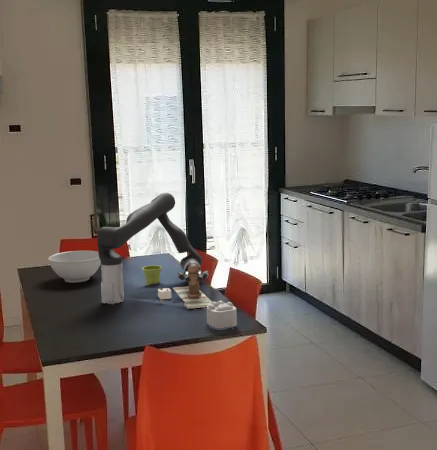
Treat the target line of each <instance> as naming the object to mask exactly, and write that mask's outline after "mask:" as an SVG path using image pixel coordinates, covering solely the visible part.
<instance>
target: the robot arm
mask: <svg viewBox="0 0 437 450" xmlns="http://www.w3.org/2000/svg"><path fill="white" fill-rule="evenodd" d="M175 205H176V200H175V197H174V195H173V194H171V193H170V192H163V193H160V194H159V195H158V196H156V197H155V198H154V199H152V200H151V201H150V203H149V202H148V203H146V204H144V205H143V206H141V207H139V208H137V209H136V210H134V211H132V212H131V213H129V214H128V215H127V217H126V220H125V223H124V224H123V225H121V226H118V227H117V226H116V227H115V226H114V227H113V226H102V227H100V228H99V230H98V232H97V234H96V244H97V252H98V254H99V258H100V261H101V264H100V273H101V275H100V276H101V282H100V293H101V304H106V303H107V305H115V303H116V304H120V302H121V303H122V302H124V301H125V298H124V297H125V296H124V295H125V294H124V275H123V274H124V273H123V257H122V255H120V254H118V253H117V252H116V251H114V249H119V248H122V247H123V246H124V245H125V244H126V243H127V242H128V241H129V240H131V239H132V238H133V237H134V236H136V235H137V234H139V233H140V232H141V231H144V230H145V229H146V228H147V227H148V226H150V225H152V223H153V222H155V221H156V220H158V221H159V223H160V225H161V226H162V227H163V229H164V230H165V231H166V232H167V234H168V236H169V237H170V239H171V241H172V243H173V245H174V248H175V249H176V251H177V252H178V253H179V254H183V253H186V252H189V253H190V254H189V255H187V256H185V257H183V258H182V259H181V260H180V267H181V269H182V270H183V272H182V271H178V272H177V278H178V279H180V280H181V281H184V280H185V282H186V283H189V279H188V267H189V266H190V265H197V266H198V267H199V282H202V281H204V280H207V279H208V277H209V270H205V271H202V269H201V266H202V265H203V258H202V256H201V255H200V254H199V253H198V252H197V251H196V250H195V248H194V247H193V246H192V245H191V242H190V241H189V239H188V237H187V235H186V233H185V232H184V231H183V230H182V229H181V228H180V227H179V226H177V225H176V224H175V223H173V222H172V220H171V219H170V218H169V216H168V214H167V213H169V212H170V211H172V210H173V209H174V208H175Z"/></svg>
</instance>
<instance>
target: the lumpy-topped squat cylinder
mask: <svg viewBox="0 0 437 450" xmlns="http://www.w3.org/2000/svg"><path fill="white" fill-rule="evenodd" d="M237 312H238V311H237V307H235V306H234V304H233V303H232V302H231V301H227V302H224V301H223V300H218V301H212V303H211V304H209V305H207V308H206V324H207V323H208V324H209V325H211V326H212V327H215V328H224V327H231V326H232V327H233V326H236V325H237V326H238V320H237V318H238V317H237Z"/></svg>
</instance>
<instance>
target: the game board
mask: <svg viewBox="0 0 437 450" xmlns="http://www.w3.org/2000/svg"><path fill="white" fill-rule="evenodd" d="M172 289H173V290H174V292H175V293H176V294H177V295H178V296H179V298H180V299H182V301H183V302H182V303H183V304H184V305H185V306H186V307H187V308H188V309H189V308H200V307H207V305H209V304H211V303H212V302H213V301H212V300H211V299H210V298H209V297H208V296H206V294H205V293H204V292H203V291H202V290H201V289H199V292H201V296H200V297H197V298H190V297H188V296H187V293H188V292H189V285H188V286H178V287H177V286H176V287H172ZM183 304H182V305H183ZM184 305H183V306H184ZM185 306H184V307H185Z"/></svg>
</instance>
